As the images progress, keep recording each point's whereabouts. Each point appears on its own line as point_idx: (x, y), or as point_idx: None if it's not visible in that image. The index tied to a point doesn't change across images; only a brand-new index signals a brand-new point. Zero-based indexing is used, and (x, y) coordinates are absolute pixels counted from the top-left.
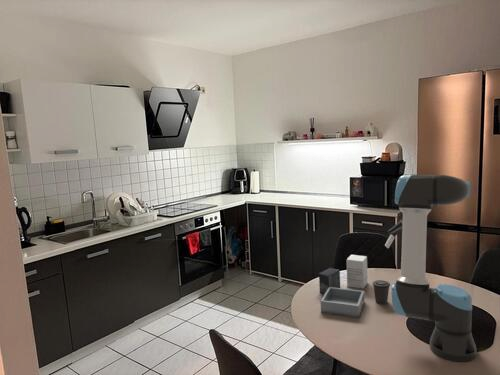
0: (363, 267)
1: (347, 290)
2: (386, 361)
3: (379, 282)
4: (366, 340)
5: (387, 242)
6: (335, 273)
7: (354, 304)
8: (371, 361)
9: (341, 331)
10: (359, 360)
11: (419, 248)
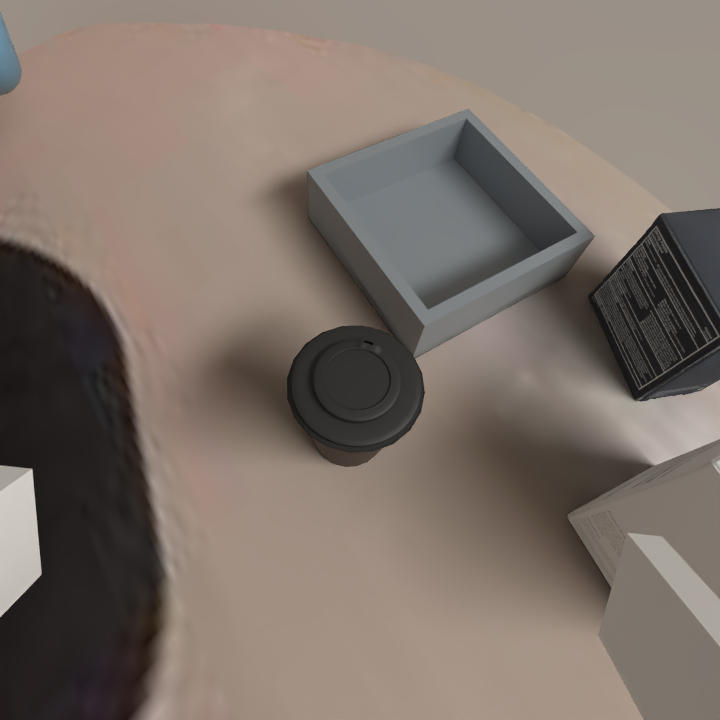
0: (671, 491)
1: (498, 274)
2: (54, 73)
3: (364, 366)
4: (176, 118)
5: (681, 595)
6: (694, 289)
7: (407, 278)
8: (96, 51)
9: (285, 110)
10: (129, 38)
11: None
